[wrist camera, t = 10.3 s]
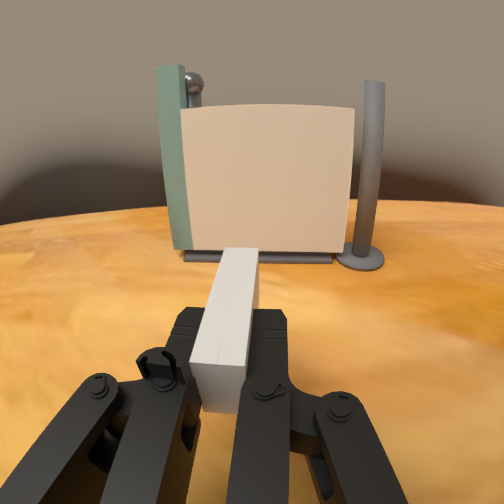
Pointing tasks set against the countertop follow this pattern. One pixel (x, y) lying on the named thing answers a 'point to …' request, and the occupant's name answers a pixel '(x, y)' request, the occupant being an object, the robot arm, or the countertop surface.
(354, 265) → the sill
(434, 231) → the countertop surface
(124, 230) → the countertop surface
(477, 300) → the countertop surface
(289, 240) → the gate
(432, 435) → the countertop surface
